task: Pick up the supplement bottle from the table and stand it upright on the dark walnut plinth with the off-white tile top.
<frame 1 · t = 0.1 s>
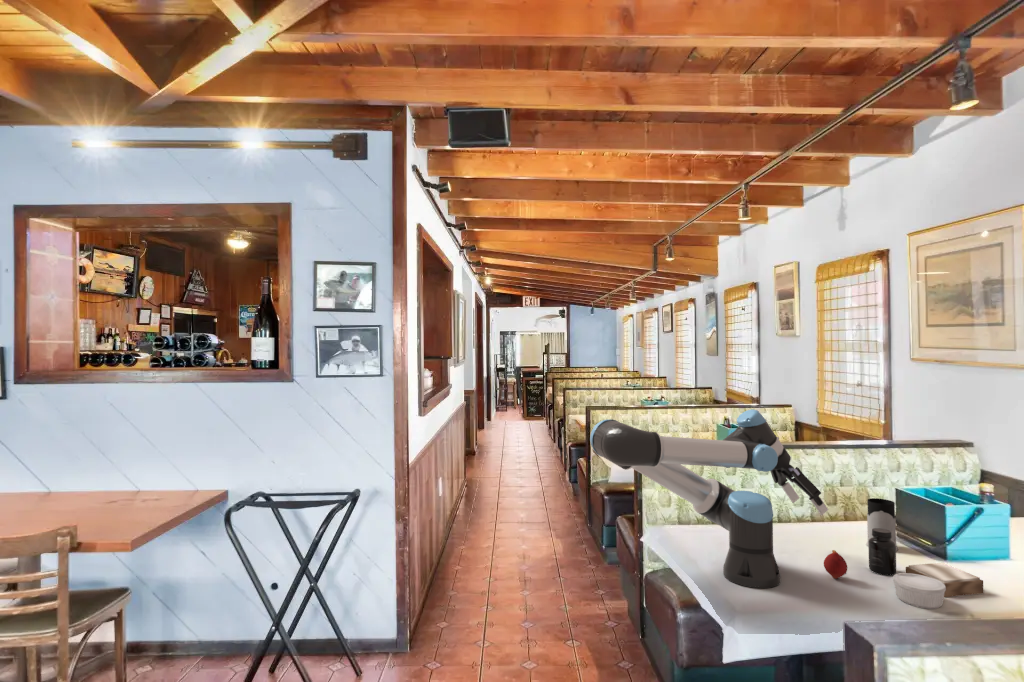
hand: (809, 506, 181), 15 cm above the table, tool tilted 35°, fingers open, 13 cm apart
ramekin: (919, 602, 147), on the table
glass holder: (881, 545, 189), on the table
plinth: (943, 586, 155), on the table
onion: (835, 579, 161), on the table
supplement bottle: (882, 572, 166), on the table
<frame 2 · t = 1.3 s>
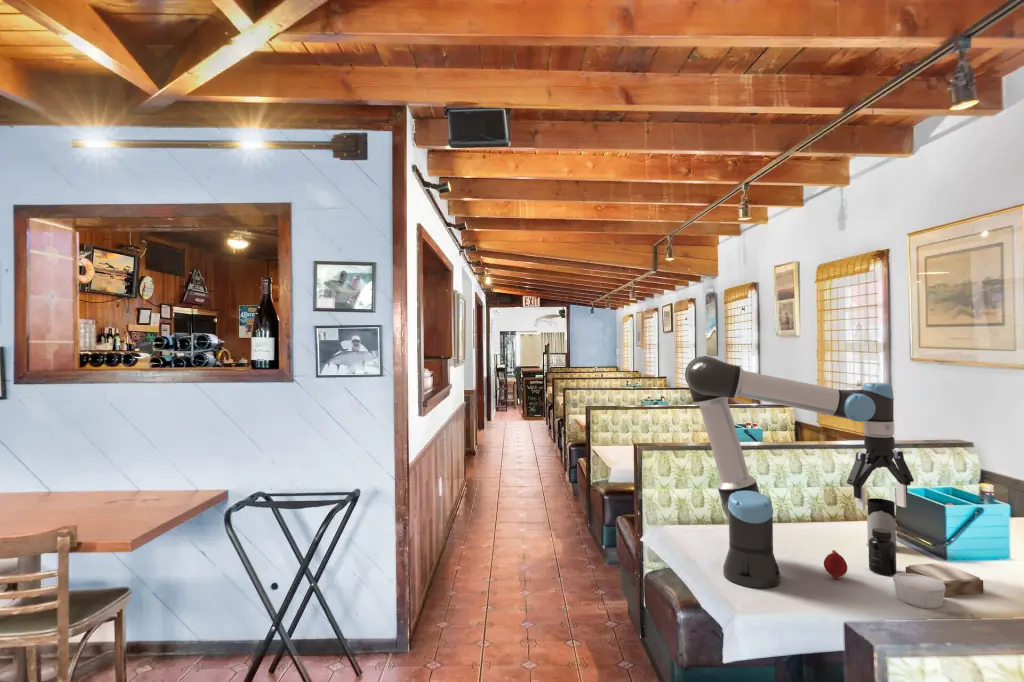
hand: (881, 507, 166), 19 cm above the table, tool pointing down, fingers open, 13 cm apart
nothing on the table moved.
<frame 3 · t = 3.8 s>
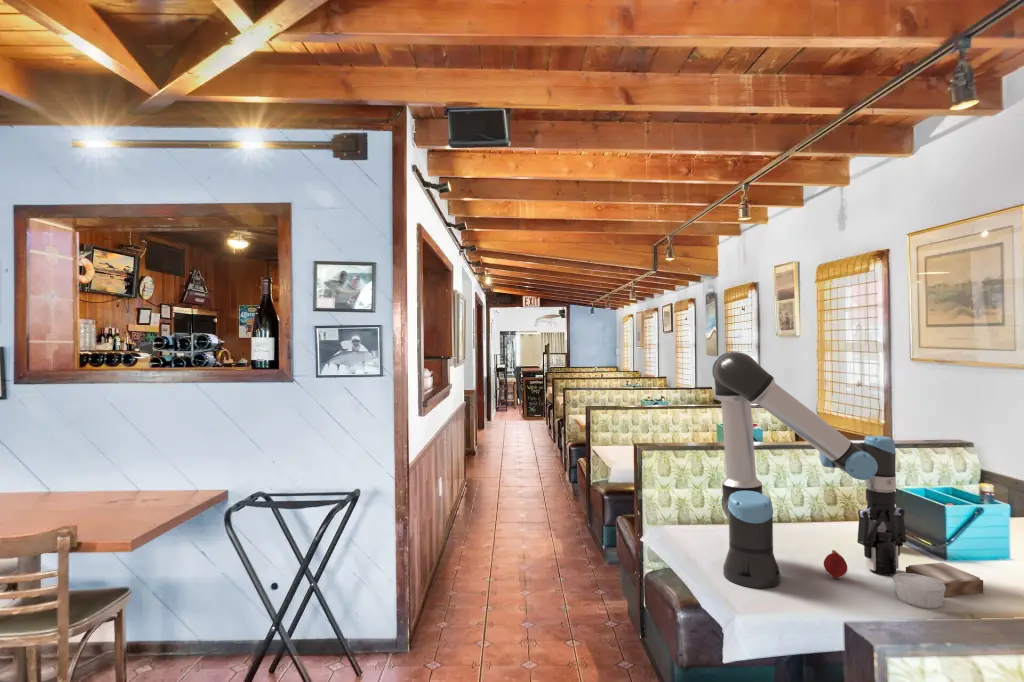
hand: (882, 567, 166), 1 cm above the table, tool pointing down, fingers closed on supplement bottle, 7 cm apart
supplement bottle: (882, 572, 166), on the table, touching gripper
everything else where it was.
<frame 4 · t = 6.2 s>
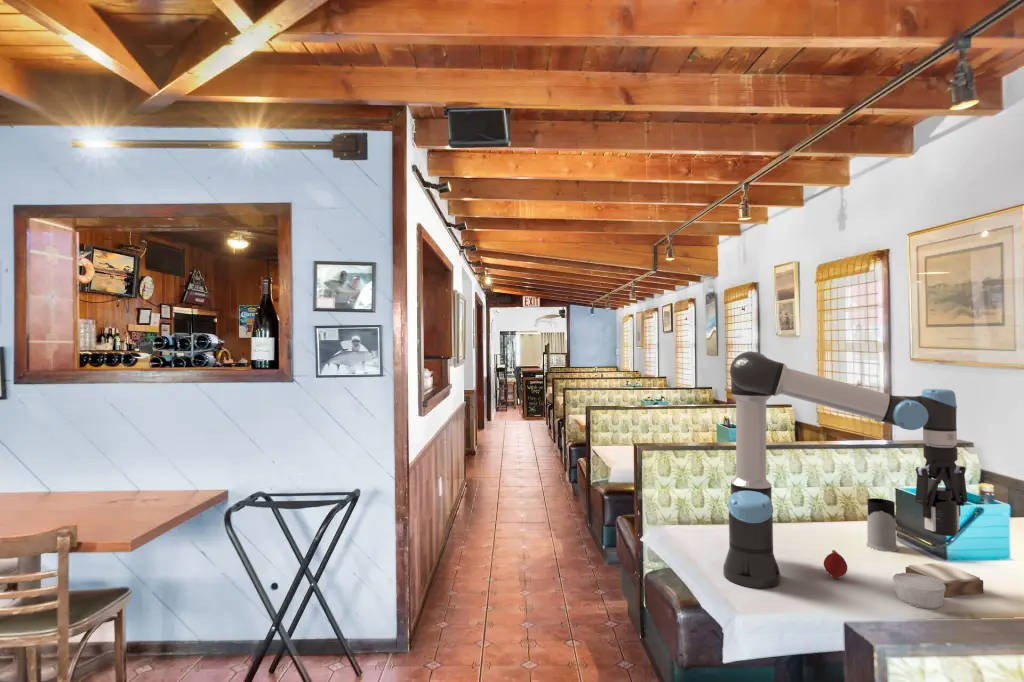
hand: (942, 528, 156), 16 cm above the table, tool pointing down, fingers closed on supplement bottle, 7 cm apart
supplement bottle: (942, 533, 156), point 14 cm above the table, touching gripper
everything else where it was.
when the fingers open (6 cm above the table, at t = 8.5 s): supplement bottle drops 1 cm, resting on plinth.
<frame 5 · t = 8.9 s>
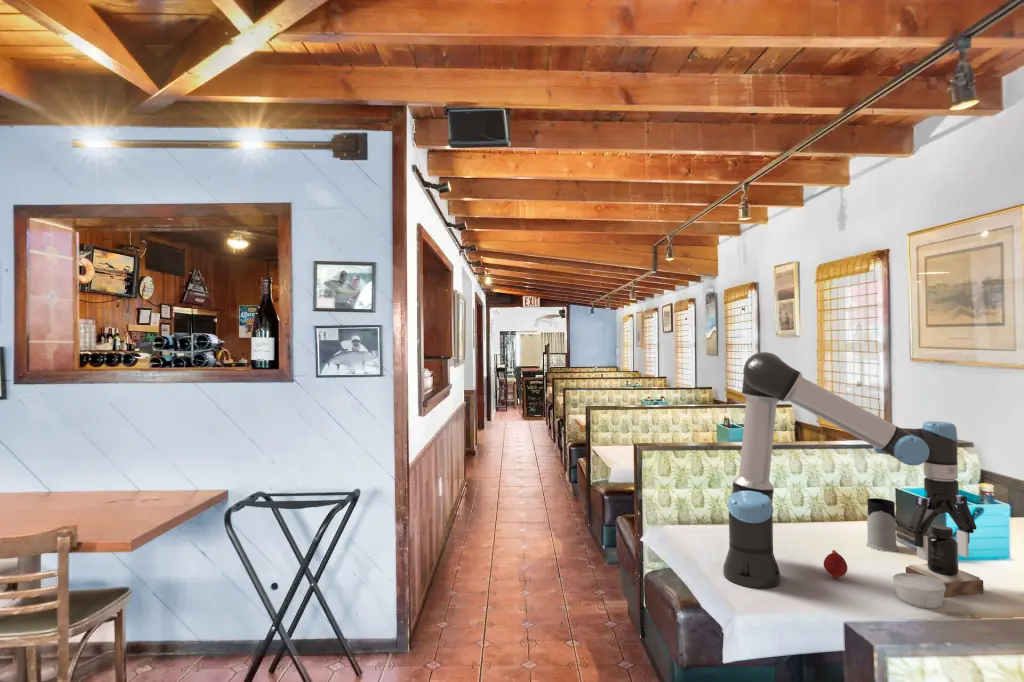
hand: (942, 557, 156), 8 cm above the table, tool pointing down, fingers open, 12 cm apart
supplement bottle: (942, 572, 156), point 4 cm above the table, touching plinth
everything else where it was.
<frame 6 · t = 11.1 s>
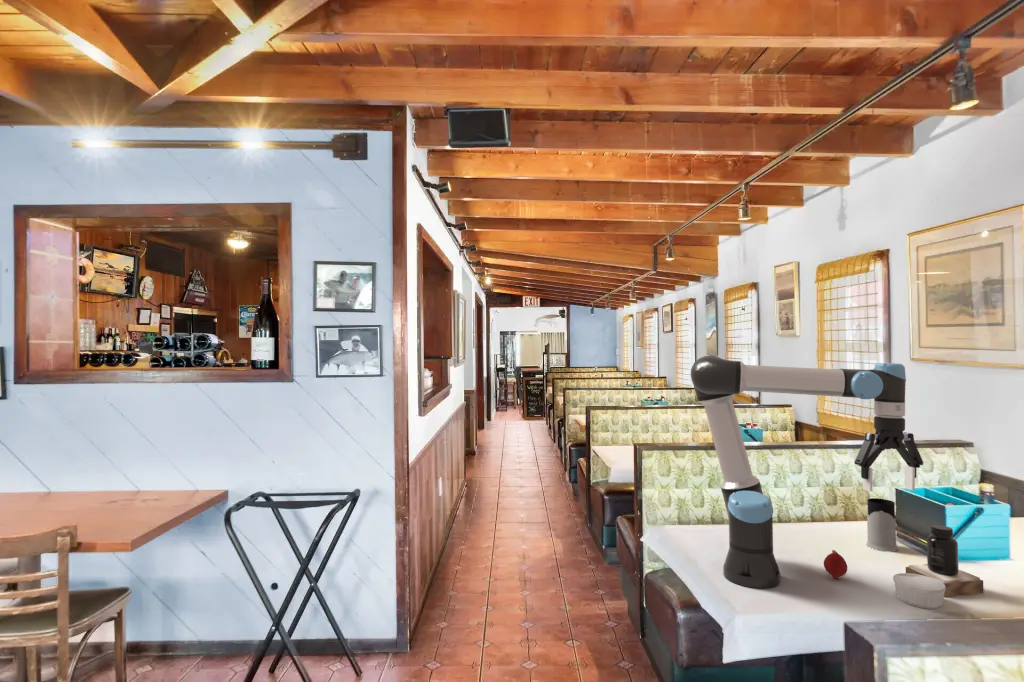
hand: (888, 489, 164), 24 cm above the table, tool pointing down, fingers open, 13 cm apart
nothing on the table moved.
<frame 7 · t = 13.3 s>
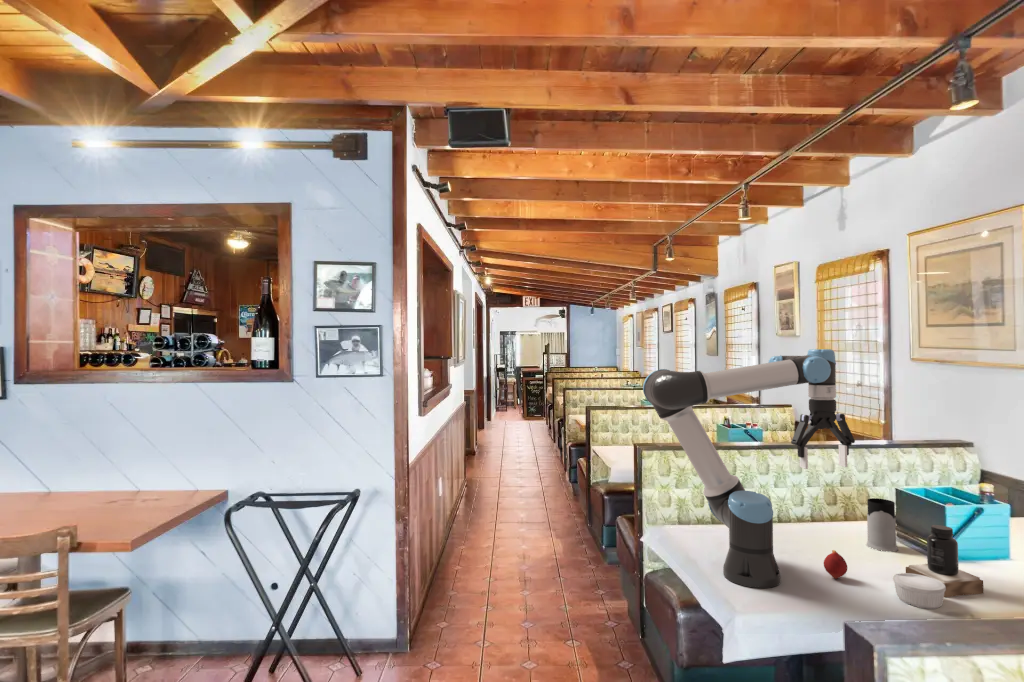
hand: (823, 467, 176), 29 cm above the table, tool pointing down, fingers open, 13 cm apart
nothing on the table moved.
at the end: supplement bottle inside the target area on the plinth (0.0 cm from its centre), point 3.8 cm above the plinth's base; supplement bottle tilted 0°; the gripper is holding nothing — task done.
